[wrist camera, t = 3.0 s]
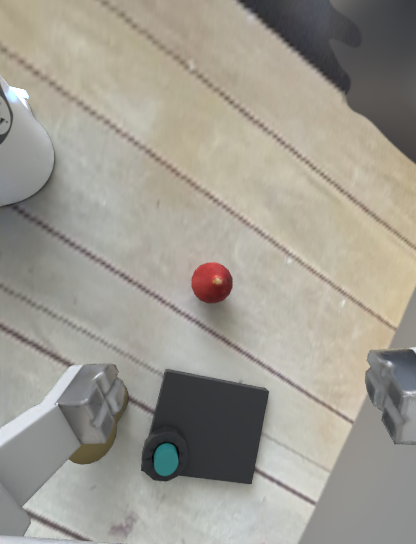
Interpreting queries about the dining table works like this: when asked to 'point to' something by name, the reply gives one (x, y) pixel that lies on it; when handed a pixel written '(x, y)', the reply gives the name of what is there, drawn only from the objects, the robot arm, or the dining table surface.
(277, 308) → the dining table surface
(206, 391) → the scale
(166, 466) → the button
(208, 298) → the onion
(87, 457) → the cork
